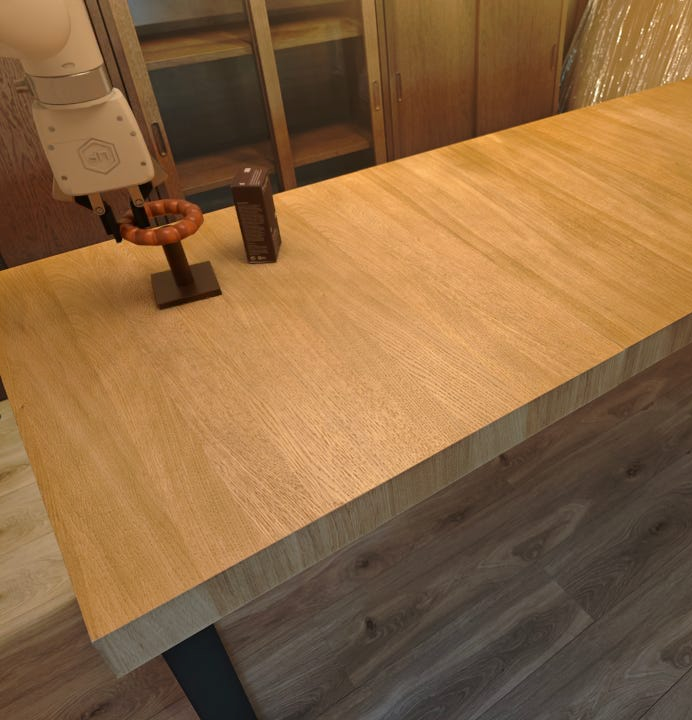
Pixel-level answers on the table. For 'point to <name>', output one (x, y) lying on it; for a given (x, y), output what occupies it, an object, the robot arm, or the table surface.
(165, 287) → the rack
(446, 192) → the table surface
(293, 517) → the table surface
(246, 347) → the table surface
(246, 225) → the box
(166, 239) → the ring
